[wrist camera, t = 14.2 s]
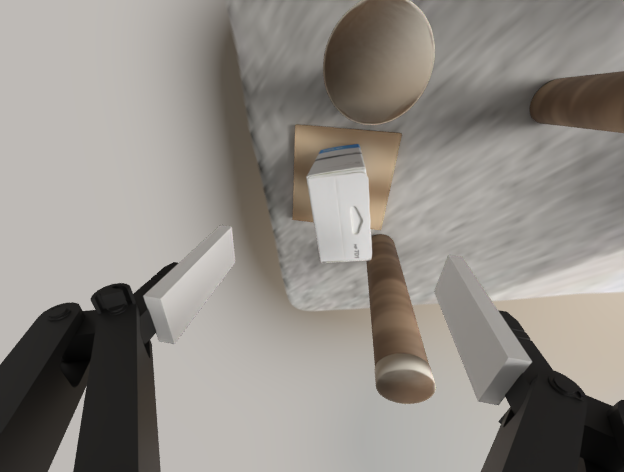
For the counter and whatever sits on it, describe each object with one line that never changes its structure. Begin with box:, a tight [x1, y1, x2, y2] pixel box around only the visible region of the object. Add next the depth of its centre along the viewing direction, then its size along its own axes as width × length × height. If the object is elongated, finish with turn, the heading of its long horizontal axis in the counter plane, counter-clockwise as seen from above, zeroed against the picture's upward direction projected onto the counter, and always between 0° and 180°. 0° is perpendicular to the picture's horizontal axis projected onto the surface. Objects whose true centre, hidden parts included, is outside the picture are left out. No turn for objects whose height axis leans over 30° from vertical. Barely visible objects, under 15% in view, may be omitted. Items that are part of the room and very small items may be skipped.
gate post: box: [323, 0, 435, 125], centre depth 18 cm, size 4×4×20 cm
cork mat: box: [293, 124, 402, 230], centre depth 32 cm, size 12×12×1 cm
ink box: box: [306, 144, 372, 263], centre depth 26 cm, size 9×5×12 cm, turn 8°
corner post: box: [367, 234, 436, 404], centre depth 27 cm, size 4×4×20 cm
